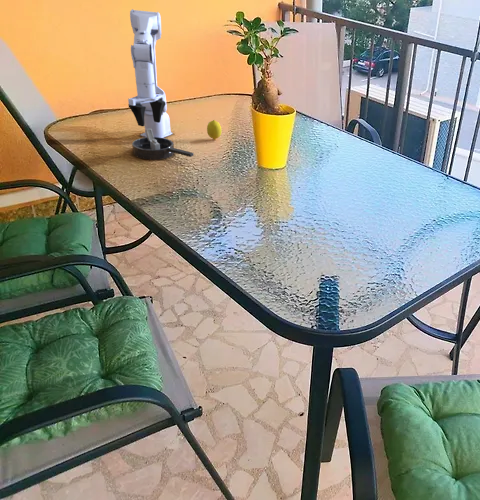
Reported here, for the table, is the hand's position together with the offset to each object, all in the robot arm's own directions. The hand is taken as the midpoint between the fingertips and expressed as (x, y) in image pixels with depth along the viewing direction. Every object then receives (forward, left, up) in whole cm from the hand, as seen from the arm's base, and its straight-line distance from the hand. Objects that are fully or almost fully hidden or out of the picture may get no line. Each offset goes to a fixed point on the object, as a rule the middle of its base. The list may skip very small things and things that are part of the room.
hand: (149, 123), depth 161 cm
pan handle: (0, +12, -8) cm, 14 cm away
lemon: (-25, +9, -11) cm, 29 cm away
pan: (0, 0, -11) cm, 11 cm away
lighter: (0, 0, -11) cm, 11 cm away
